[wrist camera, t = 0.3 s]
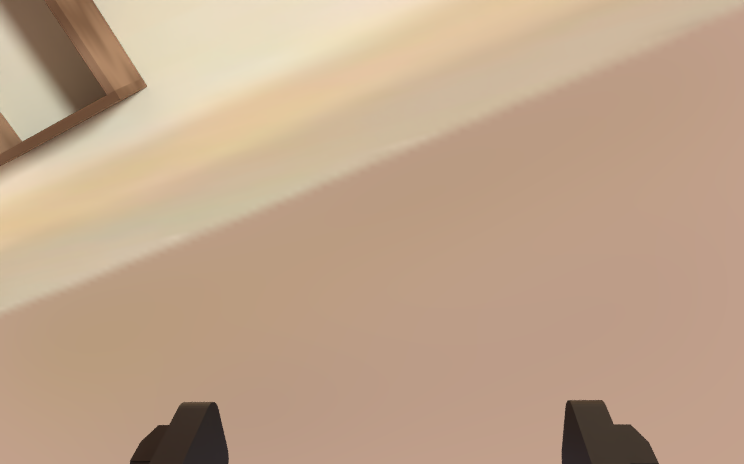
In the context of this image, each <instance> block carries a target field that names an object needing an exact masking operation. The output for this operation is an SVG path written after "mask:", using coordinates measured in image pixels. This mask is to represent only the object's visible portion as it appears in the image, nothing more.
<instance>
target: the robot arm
mask: <svg viewBox="0 0 744 464" xmlns="http://www.w3.org/2000/svg"><path fill="white" fill-rule="evenodd" d="M228 460H229V458H228V448H227V444H226V440H225V435H224V431H223V427H222V422H221V418H220V414H219V409H218V406H217V404H216V403H215V402H184V403H182V404H181V405H180V406H179V407H178V409H177V411H176V413H175V415H174V417H173V419H172V421H171V423H170V425H159V426H157V427H156V428H155V429H154V430H153V431H152V432H151V433H150V434H149V435H148V436H147V437H145V438H144V439H143V440H142V441H141V443H140V444H139V446H138V448H137V449H136V451H135V453H134V455H133V457H132V458H131V460H130V464H228ZM562 464H659V463H658V461H657V459H656V457H655V454H654V452H653V450H652V448H651V446H650V444H649V442H648V441H647V440H646V439H645V438H644V437H643V436H641V434H640V433H639V432H638V431H637V430H636V429H635V428H633V427H632V426H631V425H614V424H613V422H612V419H611V417H610V415H609V412H608V410H607V407H606V405H605V403H604V402H603V401H602V400H569V401H567V403H566V408H565V420H564V431H563V442H562Z"/></svg>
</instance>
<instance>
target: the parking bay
mask: <svg viewBox="0 0 744 464" xmlns="http://www.w3.org/2000/svg"><path fill="white" fill-rule="evenodd" d="M44 1H45V2H46V4H47V5H48V7H49V8H50V10H51V11H52V13H53V14H54V16H55V17H56V19H57V20H58V22H59V23H60V25H61V26H62V28H63V29H64V31H65V32H66V34H67V35H68V37H69V38H70V40H71V41H72V43H73V45H74V46H75V48H76V49H77V51H78V52H79V54H80V55H81V57H82V58H83V60H84V61H85V63H86V64H87V66H88V67H89V69H90V70H91V72H92V73H93V75H94V76H95V78H96V79H97V81H98V82H99V84H100V85H101V87H102V88H103V90H104V91H105V93H106V94H107V95H106V96H104V97H102V98H100V99H98V100H97V101H95V102H93V103H91V104H89V105H88V106H86V107H84V108H82V109H80V110H79V111H77V112H75V113H73V114H71V115H70V116H68V117H66V118H64V119H62V120H61V121H59V122H57V123H55V124H53V125H52V126H50V127H48V128H46V129H44V130H43V131H41V132H39V133H37V134H35V135H34V136H32V137H30V138H28V139H26V140H25V141H23V142H22V141H21V140H20V138H19V137H18V135H17V134H16V133H15V131H14V130H13V129H12V127H11V126H10V125H9V123H8V122H7V121H6V119H5V118H4V117H3V115H2V114H1V113H0V166H1V165H3V164H5V163H7V162H9V161H11V160H13V159H15V158H17V157H19V156H21V155H23V154H25V153H26V152H28V151H30V150H32V149H34V148H36V147H37V146H39V145H41V144H43V143H45V142H46V141H48V140H50V139H52V138H54V137H56V136H57V135H59V134H61V133H63V132H65V131H67V130H68V129H70V128H72V127H74V126H76V125H78V124H79V123H81V122H83V121H85V120H87V119H88V118H90V117H92V116H94V115H96V114H98V113H99V112H101V111H103V110H105V109H107V108H109V107H110V106H112V105H114V104H116V103H118V102H120V101H121V100H123V99H125V98H127V97H129V96H131V95H132V94H134V93H136V92H138V91H140V90H141V89H143V88H145V87H147V85H146V84H145V82H144V81H143V79H142V77H141V76H140V74H139V73H138V71H137V70H136V68H135V66H134V65H133V63H132V62H131V60H130V59H129V57H128V55H127V54H126V52H125V51H124V49H123V47H122V46H121V44H120V43H119V41H118V40H117V38H116V36H115V35H114V33H113V32H112V30H111V29H110V27H109V25H108V24H107V22H106V21H105V19H104V18H103V16H102V14H101V13H100V11H99V10H98V8H97V7H96V5H95V3H94V2H93V0H44Z"/></svg>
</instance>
